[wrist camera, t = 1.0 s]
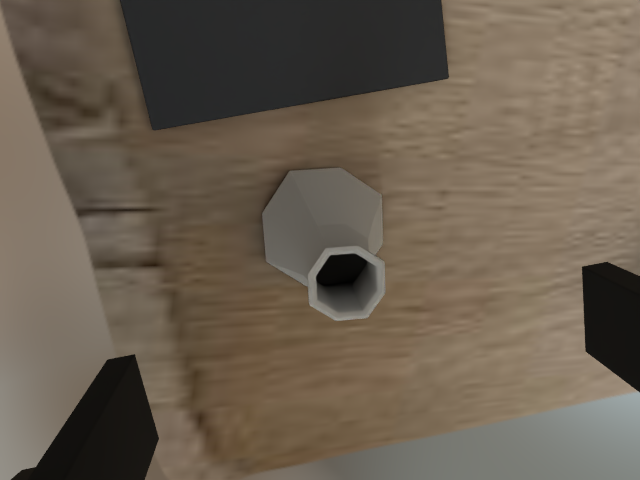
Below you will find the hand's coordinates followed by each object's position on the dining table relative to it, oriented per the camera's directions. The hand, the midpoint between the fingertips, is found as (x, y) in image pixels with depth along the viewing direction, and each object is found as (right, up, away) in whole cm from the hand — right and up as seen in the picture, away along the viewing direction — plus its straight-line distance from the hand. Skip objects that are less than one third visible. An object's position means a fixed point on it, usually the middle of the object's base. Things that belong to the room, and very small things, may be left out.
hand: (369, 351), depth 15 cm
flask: (-1, +4, +15) cm, 16 cm away
